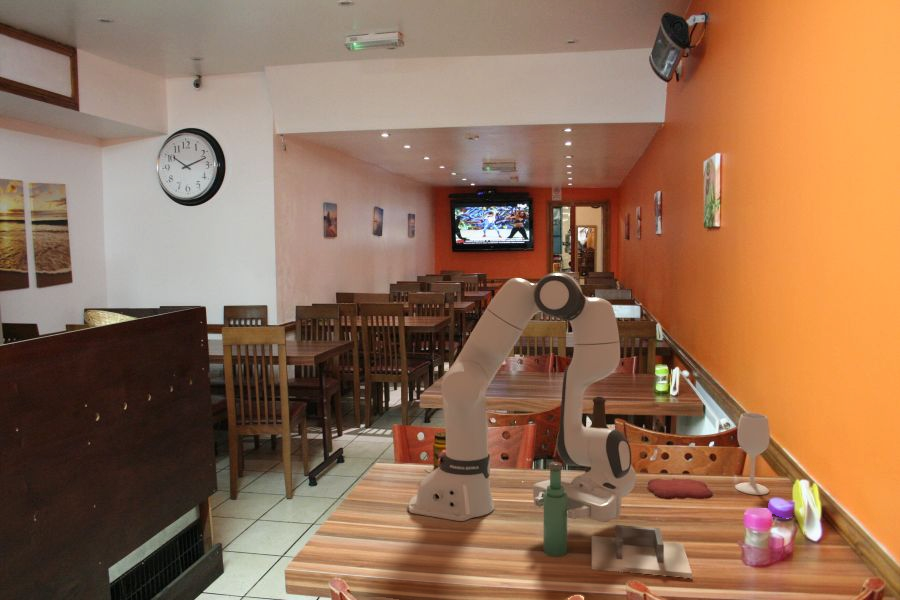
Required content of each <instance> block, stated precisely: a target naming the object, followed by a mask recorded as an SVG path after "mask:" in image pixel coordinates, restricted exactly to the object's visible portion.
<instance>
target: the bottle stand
mask: <svg viewBox="0 0 900 600" xmlns="http://www.w3.org/2000/svg"><path fill="white" fill-rule="evenodd" d="M614 526H615V527H614V530H615V531H614V532H615V533H614V537H611V536H610V537H609V536H599V535H591V570H592V571H601V570H602V572H612V571H614V573H623V572H632V573H631V574H634V573H643V574H642V575H644V574H657V575H666V576H679V577H683V578H682V579H687V578H690V579H689V580H692V579H693V573H692V569H691V566H690V563H689V560H688V556H687V553H686V550H685V546H684V544H683V542H674V541H673V542H671V541H670V542H669V541H663V536H662V531H661V528H660V527H648V526H647V527H646V526H637V525H623V524H615V525H614ZM593 569H594V570H593ZM615 571H617V572H615ZM618 571H619V572H618ZM666 576H665V577H666Z"/></svg>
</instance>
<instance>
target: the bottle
mask: <svg viewBox="0 0 900 600" xmlns="http://www.w3.org/2000/svg"><path fill="white" fill-rule="evenodd" d="M548 469H549V479H550V485H549V486H547V492H545V493H544V506H543V542H542V543H543V545H542V546H543V547H542V548H543V553H544V554H545V555H547V556H549V557H555V558H556V557H557V558H558V557H563V556H566V555H567V553H568V511H567V494H566V493H564V487H563V486H561V481H562V469H563V464H562V463H561V462H560V461H559V462H558V461H551V462H549V464H548Z"/></svg>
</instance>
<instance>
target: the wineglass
mask: <svg viewBox="0 0 900 600" xmlns="http://www.w3.org/2000/svg"><path fill="white" fill-rule="evenodd" d="M770 433H771V432H770V425H769V420H768V417H767V416H766V415H764V414H761V413H755V412H754V413H752V412H748V413H746V412H745V413H741V415H740V417H739V420H738V424H737V434H736V435H737V436H736V437H737V441H738V442H737V443H738V445H739V447H740V448H741V450H742V451H744V452H745V453H746V454H747V455H748V456H749V458H750V459H749V460H750V473H749V480H748V482H740V483H738V484H735V485H734V488H735V489H736V491H739V492H741V493H744V494H746V495H755V496H756V495H757V496H762V495H763V496H764V495H767V494H769V493H770V490H769V489H768V488H767V487H766V486H764V485H761V484H759V483H756V479H755V464H756V457H757V456H759V455H761V454H762V453H764V452H765V451H766V450H768V447H769V444H770V436H771V434H770Z"/></svg>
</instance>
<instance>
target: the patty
mask: <svg viewBox="0 0 900 600" xmlns="http://www.w3.org/2000/svg"><path fill="white" fill-rule="evenodd" d="M647 484H648V485H647V487H646V489H648V490H649V491H648V490H647V491H648V492H650V491H651V492H652V494H653V493H654V494H653V495H654V497H656V496H657V497H656V498H658V497H659V499H662V498H665V499H664V500H672V499H671V498H673V499H686V498H687V497H688V499H694V498H695V499H696V500H698V499H699V500H705V499H704V498H706V499H710V498H712V497H713V495H714V493H713V491H712V490H711V489H710V488H708V485H707V484H706V483H705V482H703V481H699V480H694V479H690V478H689V479H688V478H672V479H661V478H652V479H650V480H648V482H647ZM651 492H650V493H651ZM675 497H677V498H675Z"/></svg>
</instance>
